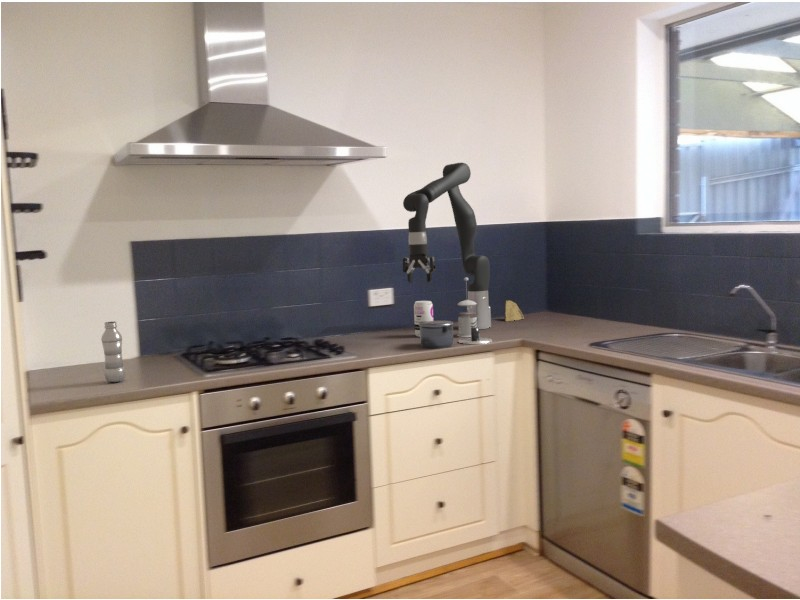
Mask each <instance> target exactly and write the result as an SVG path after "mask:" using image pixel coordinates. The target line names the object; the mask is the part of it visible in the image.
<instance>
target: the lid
mask: <svg viewBox="0 0 800 600" xmlns="http://www.w3.org/2000/svg"><path fill="white" fill-rule="evenodd" d="M457 341H458V342H459V344H460V343H463V344H462V345H466V344H480V345H487V343H488V344H491V343H492V342H493V339H492V338H490V337H480V329H479V328H478V327H473V328H471V338H461V339H458V340H457ZM490 342H491V343H490Z"/></svg>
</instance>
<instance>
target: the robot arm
mask: <svg viewBox="0 0 800 600" xmlns="http://www.w3.org/2000/svg"><path fill="white" fill-rule="evenodd" d="M471 175H472V174H471V168H470V166H469V165H468V164H467V163H465V162H456V163H450V164H446V165H444V167H443V169H442V177H439V178H438V179H435V180H432V181H430V182H429V183H427V184H426V185H424V186H423V187H421V188H420V189H418V190H416V191H412V192H411V193H409V194H407V195H406V196H405V197H404V199H403V203H402V205H403V209H405V211H407V212H410V213H411V212H412V213H413V212H415V215H414V216H413V217H411V218H409V219H408V222H407V223H408V251H409V252H408V253H409V257H403V258H402V272H403V273H406V275H407V281H408V283H409V284H410V283H411V284H412V283H413V282H414V281H413V280H414V275H413V271H414V270H415V269H418V268H419V269H423V270H425V272H426V282H427V283H432V281H433V273H434V272H436V271H437V266H436V257H435V256H430V257H428V237H427V230H426V229H427V228H426V227H427V226H426V224H427V223H426V222H427V221H426V220H427V215H428V211H429V205H430V203H432V202H434V201H435V200H437V199H438V198H439V197H440V196H442V195H444V194H445V193H447V195H448V198H449V201H450V205H451V209H452V213H453V218H454V225H455V229H456V231H457V235H458V240H459V246H460V253H461V260H462V261H461V262H462V266H463V270H464V272H465V273H466V275H468V276H472V277H473V276H474V277H473V281H472V282H471V283H469V284H468V285H467V300H470V301H473V302H475V303H477V304H476V305H474V306H472V308H471V306H468V307H467V308H468V309H469V312H472V311H473V312H475V313H476V314H475V315H473V316H477V327H478V328H479V330H485V329H489V327H490V328H492V313H491V311H492V310H491V308H492V307H491V306H490V305H489V287H490V281H491V280H490V278H491V277H490V276H491V265H490V260H489V258H488V257H487V256H486V255H483V254H481V255H480V254H479V255H478V254H476V251H475V247H474V240H475V237H476V233H477V229H478V224H477V219H476V215H475V211H474V209H473V207H472V206H471V205H470V203H469V202H468V201H467V200H466V199H465V198H464V196H463V194H462V193H461V189H460V187H459V186H460V185H463V184H465V183H467V182H468V181H469V180H470V178H471ZM409 263H410V265H409ZM429 264H430V265H429ZM427 283H426V284H427ZM470 308H471V309H470ZM468 309H467V310H468ZM470 316H472V315H469V318H470ZM475 323H476V322H475ZM475 326H476V325H475Z"/></svg>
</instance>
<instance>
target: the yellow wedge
mask: <svg viewBox="0 0 800 600" xmlns="http://www.w3.org/2000/svg"><path fill="white" fill-rule="evenodd" d="M504 309H505V310H504V311H505V313H504V322H506V321H507V322H514V320H515V321H520V320H524V319H525V318H524V314H523V312H522V310H521V309H520V308H519V306H518V304H517V303H516V302H514V301H513V300H509V299H508V300H507V299H506V300H505V304H504Z"/></svg>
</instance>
